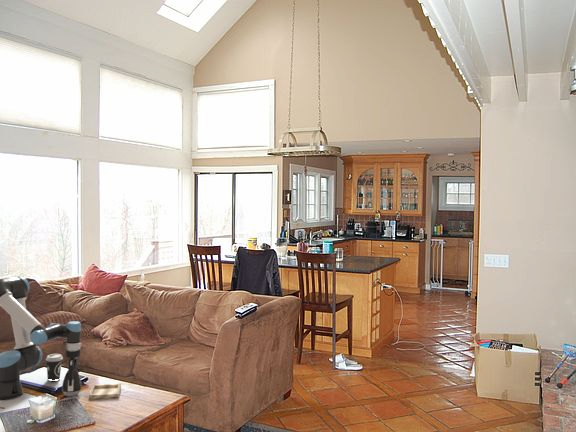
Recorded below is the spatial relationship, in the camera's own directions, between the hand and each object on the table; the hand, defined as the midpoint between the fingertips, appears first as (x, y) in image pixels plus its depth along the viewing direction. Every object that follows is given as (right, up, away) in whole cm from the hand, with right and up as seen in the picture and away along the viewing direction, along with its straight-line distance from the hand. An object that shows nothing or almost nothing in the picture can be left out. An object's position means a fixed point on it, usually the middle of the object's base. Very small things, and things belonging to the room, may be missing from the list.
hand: (72, 386), depth 292 cm
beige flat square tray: (+17, -6, +5) cm, 18 cm away
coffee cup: (-20, -3, +21) cm, 29 cm away
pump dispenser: (0, -5, 0) cm, 5 cm away
